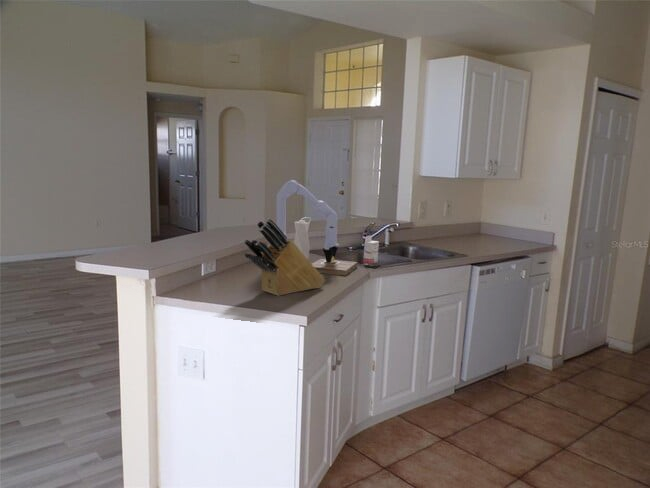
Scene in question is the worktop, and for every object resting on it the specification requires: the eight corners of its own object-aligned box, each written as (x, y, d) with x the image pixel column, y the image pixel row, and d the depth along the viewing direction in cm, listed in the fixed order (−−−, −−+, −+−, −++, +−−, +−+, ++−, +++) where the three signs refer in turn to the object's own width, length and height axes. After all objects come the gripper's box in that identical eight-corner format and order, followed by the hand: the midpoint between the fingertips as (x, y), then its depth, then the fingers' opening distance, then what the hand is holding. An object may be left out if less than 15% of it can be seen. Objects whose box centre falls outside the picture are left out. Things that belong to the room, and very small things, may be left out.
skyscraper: (305, 274, 239) (307, 216, 234) (311, 278, 231) (313, 218, 227) (288, 275, 236) (290, 216, 231) (294, 278, 228) (295, 218, 224)
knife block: (241, 294, 199) (242, 217, 194) (308, 282, 222) (310, 213, 217) (257, 300, 190) (258, 220, 185) (325, 287, 214) (328, 216, 209)
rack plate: (345, 275, 239) (346, 270, 239) (306, 271, 245) (306, 265, 244) (356, 267, 260) (357, 261, 259) (320, 263, 266) (320, 258, 265)
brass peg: (331, 269, 252) (332, 257, 251) (324, 268, 254) (325, 256, 253) (334, 267, 256) (335, 256, 255) (327, 266, 257) (328, 255, 256)
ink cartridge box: (371, 264, 268) (372, 237, 266) (363, 263, 270) (364, 236, 268) (378, 262, 275) (379, 235, 273) (369, 260, 278) (371, 234, 275)
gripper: (334, 237, 244) (333, 264, 246) (342, 233, 258) (341, 259, 260) (321, 236, 246) (320, 263, 248) (329, 232, 260) (328, 258, 262)
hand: (330, 261), depth 254 cm, fingers open, 5 cm apart
